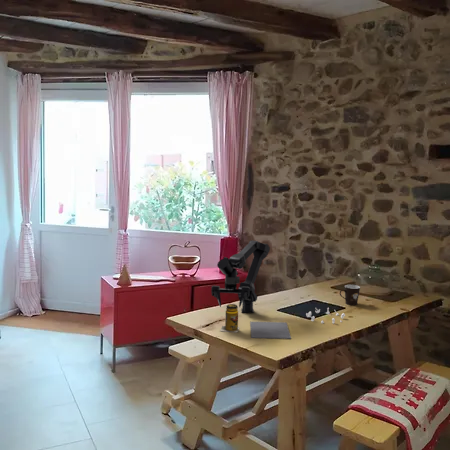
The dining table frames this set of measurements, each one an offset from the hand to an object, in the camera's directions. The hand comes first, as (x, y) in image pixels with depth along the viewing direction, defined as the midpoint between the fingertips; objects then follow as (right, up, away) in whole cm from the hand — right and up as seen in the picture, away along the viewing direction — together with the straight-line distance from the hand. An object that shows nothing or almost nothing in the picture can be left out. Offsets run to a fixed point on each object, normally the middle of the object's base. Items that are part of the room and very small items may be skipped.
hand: (230, 306), depth 250 cm
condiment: (0, -11, -2) cm, 11 cm away
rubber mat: (+19, -11, -2) cm, 22 cm away
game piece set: (+49, -9, +19) cm, 54 cm away
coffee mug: (+68, -6, +46) cm, 83 cm away
